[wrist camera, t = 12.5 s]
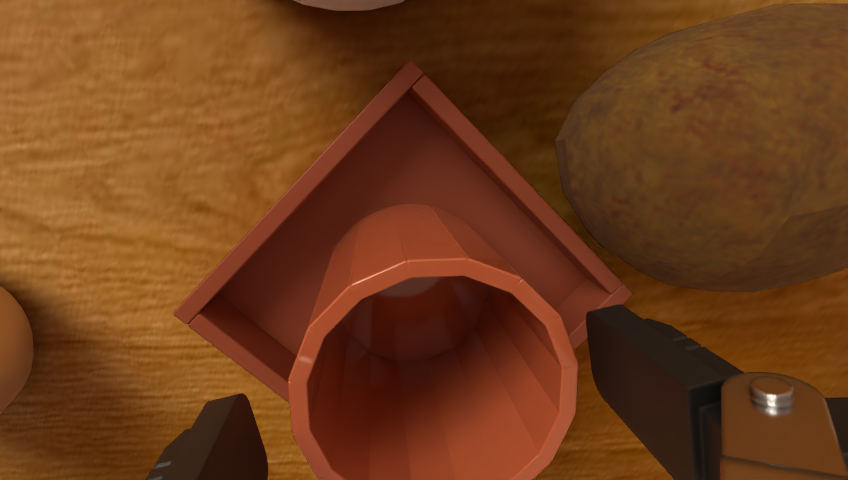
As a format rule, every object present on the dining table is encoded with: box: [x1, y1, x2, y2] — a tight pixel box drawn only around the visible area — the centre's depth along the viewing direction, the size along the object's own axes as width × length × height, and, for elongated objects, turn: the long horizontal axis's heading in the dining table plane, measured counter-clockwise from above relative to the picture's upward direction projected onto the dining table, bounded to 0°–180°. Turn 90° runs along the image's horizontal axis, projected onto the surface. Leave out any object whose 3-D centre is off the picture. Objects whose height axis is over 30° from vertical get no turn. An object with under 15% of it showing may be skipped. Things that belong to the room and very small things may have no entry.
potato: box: [554, 4, 848, 292], centre depth 14 cm, size 8×12×9 cm
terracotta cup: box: [288, 203, 579, 480], centre depth 14 cm, size 6×6×8 cm
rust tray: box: [173, 60, 633, 403], centre depth 18 cm, size 11×11×2 cm
